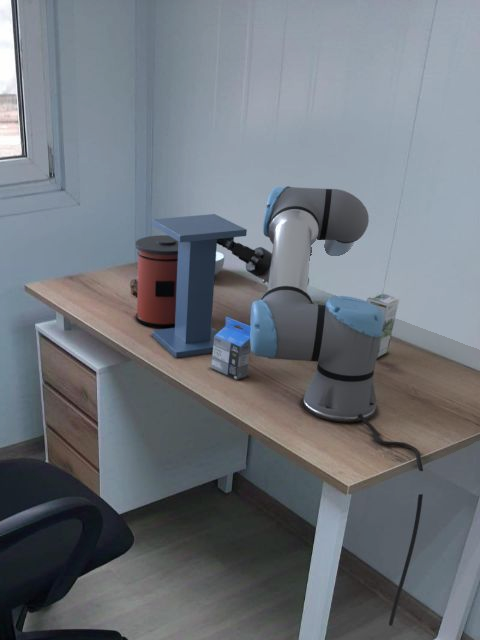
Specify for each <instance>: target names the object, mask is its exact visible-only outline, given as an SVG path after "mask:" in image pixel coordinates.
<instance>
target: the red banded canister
mask: <svg viewBox="0 0 480 640" xmlns="http://www.w3.org/2000/svg"><path fill="white" fill-rule="evenodd" d="M177 265H178V255H156V254H149V253H145V252H142V251H139V250H138V249H137V277H138V296H136V297H137V301H136V302H137V305H136V306H137V307H136V309H137V311H136V313H135V320H136V321H137V323H139V324H140V325H142V326H145V327H148V328H154V329H160V330H161V329H168V328H175V313H176V289H177Z"/></svg>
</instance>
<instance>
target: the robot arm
mask: <svg viewBox="0 0 480 640" xmlns="http://www.w3.org/2000/svg"><path fill="white" fill-rule="evenodd" d="M263 217H264V218H263V225H262V232H263V235H264V237H266V238H269V240H270V242H271V244H272V252H271V251H269V250H267V249H266V248H264V247H262V246H258V247H256V248H254V249H253V248H251V247H249V246H247V245H243V244H242V243H240V242H236V241H235V240H234V241H233V240H230V238H221V239H217V245H219V246H222V248H225V249H227V251H230V252H231V254H232V255H233V256H235V257H236V258H238V260H241V261H242V262H244V263H245V269H246V271H247V272H248V273H249V274H251V275H253V276H255V277H257V278H259V279H261V280H262V281H261V282H262V283H263V284H265V283H268V284H267V291H265V292H264V293H263V294H262V295H261V296H260V299H258V300H254V301H252V303H251V307H250V319H249V320H250V322H249V323H250V324H249V326H250V329H251V330H250V344H251V346H250V352H252V354H253V355H254V356H255V357H260V358H267V359H269V360H286V361H288V360H289V361H301V362H302V361H305V362H316V363H317V365H316V371H315V372H314V375H313V377H312V379H311V380H310V382H309V384H308V386H307V389H306V390H305V392H304V395H303V399H302V405H303V407H304V409H305V410H306V411H307V412H308V413H310V414H311V415H312V416H315V417H317V418H320V419H322V420H325V421H330V422H336V423H345V424H346V423H349V424H350V423H358V422H363V423H364V424H365V425H366V427H368V429H369V430H371V432H372V433H373V437H374V440H375V442H377V443H378V444H380V445H383V446H384V445H385V446H393V447H403V448H407V449H409V450H410V451H412V452H414V454H415V457H416V464H417V469H418V471H419V472H424V468H423V464H422V463H423V462H422V457H421V453H420V451H419V449H418V448H416V447H415V446H413V445H411V444H409V443H406V442H403V441H387V440H383V439H381V438H379V433H378V430H377V429H376V428H375V427H374V426H373V425H372V423H370V421H368V420H369V419H371V418H372V417H373V416H374V415H375V413H376V409H377V396H376V390H375V384H374V372H375V368H376V364H377V359H378V358H377V353H378V348H379V343H380V338H381V336H382V334H383V332H382V328H383V320H384V317H383V313H382V311H381V310H380V309H379V308H378V307H377V306H375V305H373V304H371V303H369V302H367V300H364V299H361V298H357V297H353V296H347V295H338V296H331V297H329V298H328V299H327V301H326V302H325V304H318V303H317V304H316V303H314V301H313V298H312V297H311V295H310V294H309V292H308V287H309V285H310V278H309V274H310V273H309V272H310V263H309V261H310V256H311V255H312V254H311V253H312V247H311V245H312V244H313V243H314V242H315V241H316V239H317V240H325V244H324V248H325V251H326V253H327V254H328V255H330V256H340V255H343V254H345V253H346V252H348V251H349V250H350V249H351V247H352V246H353V244H354V242H355V241H357V242H358V240H360V239H361V238H362V237H363V235H364V234H365V233H366V231H367V229H368V226H369V221H370V220H369V218H370V217H369V212H368V209H367V207H366V206H365V205H364V203H363V202H362V201H361V200H360V198H358V197H357V196H355V195H354V194H353V193H351V192H348V191H345V190H343V189H340V188H339V189H338V188H318V187H317V188H316V187H295V186H290V185H288V186H287V185H286V186H277V187H275V188H273V189H272V190H271V191H270V193H269V196H268V198H267V202H266V208H265V211H264V216H263ZM376 358H377V359H376ZM417 497H418V498H417V504H416V511H415V518H414V519H415V520H414V523H413V524H414V525H413V529H412V535H411V538H410V543H409V547H408V551H407V556H406V559H405V563H404V566H403V569H402V573H401V577H400V581H399V584H398V587H397V591H396V594H395V598H394V602H393V605H392V610H391V613H390V617H389V620H388V621H389V622H388V626H393V624H394V622H395V621H394V620H395V617H396V612H397V609H398V605H399V601H400V598H401V594H402V590H403V587H404V585H405V581H406V577H407V573H408V569H409V567H410V563H411V559H412V555H413V553H414V552H413V551H414V548H415V544H416V540H417V535H418V530H419V526H420V525H419V524H420V520H421V513H422V505H423V497H424V494H423V493H419V494H418V495H417Z"/></svg>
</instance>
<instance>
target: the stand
mask: <svg viewBox="0 0 480 640" xmlns="http://www.w3.org/2000/svg"><path fill="white" fill-rule="evenodd" d="M151 226H152V227H153V228H155V229H157V230H159V231H160V232H162V233H164V234H165V235H169V236H170V237H172V238H173V239H175V240H177V241H178V265H177V289H176V313H175V328H168V329H161V328H160V329H154V330H152V333H151V335H152V337H153V338H154V339H155V340H156V341H157V342H158V343H159V344H160V345H161V346H162V347H164V348H165V350H167V351H168V352H169V353H170V354H171V355H172V356H174V358H176V359H178V358H185V357H191V356H199V355H205V354H206V355H207V354H213V345H214V336H215V335H216V334H217V333H218V332H219V331H218V330H216V329H215V328H214V327H212V323H213V322H212V320H213V308H214V307H213V305H214V290H215V277H216V274H215V263H216V251H217V246H218V244H217V239H221V238H231V237H234V238H240V237H246V236H247V231H248V229H246V228H245V227H243V226H241V225H239V224H236V223H234V222H232V221H230V220H228V219H226V218H224V217H222V216H220V215H218V214H216V213H209V214H199V215H189V216H177V217H176V216H175V217H165V218H154V219H151Z"/></svg>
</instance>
